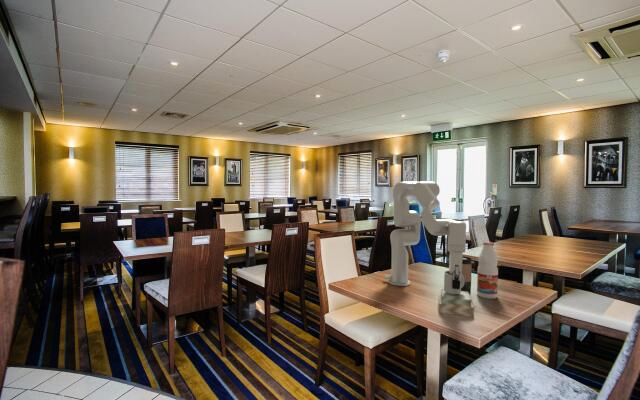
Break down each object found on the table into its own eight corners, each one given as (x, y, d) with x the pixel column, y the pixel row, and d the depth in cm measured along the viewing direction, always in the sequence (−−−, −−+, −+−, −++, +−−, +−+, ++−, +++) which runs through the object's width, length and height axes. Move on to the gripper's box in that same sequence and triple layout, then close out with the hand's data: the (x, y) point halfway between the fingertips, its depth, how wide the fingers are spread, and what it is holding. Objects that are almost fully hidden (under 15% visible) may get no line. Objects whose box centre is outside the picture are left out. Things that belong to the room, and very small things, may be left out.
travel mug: (470, 295, 171) (470, 257, 170) (471, 299, 164) (472, 260, 163) (454, 293, 173) (455, 255, 173) (455, 297, 166) (456, 258, 166)
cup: (440, 290, 153) (441, 271, 152) (458, 288, 156) (459, 269, 155) (450, 295, 146) (451, 275, 146) (469, 293, 149) (470, 274, 148)
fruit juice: (496, 294, 172) (497, 241, 171) (498, 300, 163) (499, 244, 162) (476, 292, 176) (477, 240, 175) (477, 297, 167) (478, 243, 166)
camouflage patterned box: (439, 312, 146) (439, 297, 146) (438, 302, 159) (438, 288, 159) (473, 316, 141) (474, 300, 141) (470, 305, 155) (470, 291, 154)
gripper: (446, 244, 159) (445, 280, 160) (448, 251, 142) (447, 291, 143) (463, 245, 156) (462, 282, 157) (467, 252, 140) (466, 293, 141)
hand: (455, 286), depth 150 cm, fingers closed on cup, 7 cm apart
